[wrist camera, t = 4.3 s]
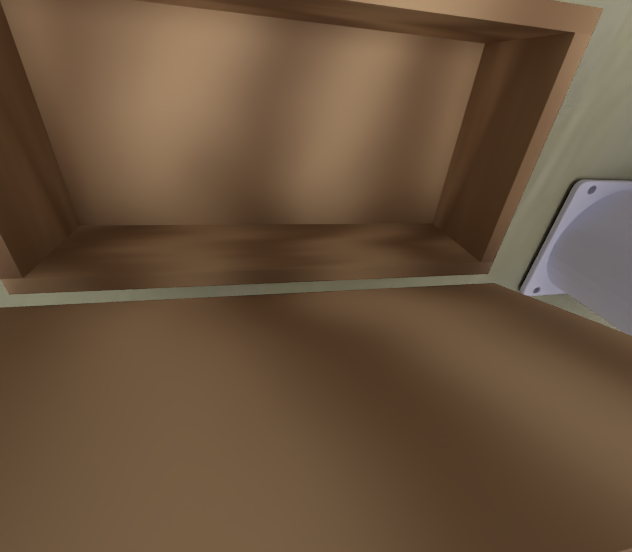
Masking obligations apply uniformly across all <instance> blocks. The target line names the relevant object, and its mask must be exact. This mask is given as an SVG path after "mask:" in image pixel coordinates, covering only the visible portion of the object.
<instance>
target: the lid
mask: <svg viewBox="0 0 632 552" xmlns="http://www.w3.org/2000/svg"><path fill="white" fill-rule="evenodd" d="M0 552H632V336H631V335H628V334H625V333H623V332H620V331H618V330H615V329H612V328H610V327H607V326H604V325H602V324H599V323H597V322H594V321H591V320H589V319H586V318H584V317H581V316H578V315H576V314H573V313H571V312H568V311H565V310H563V309H560V308H558V307H555V306H552V305H550V304H547V303H544V302H542V301H539V300H537V299H534V298H531V297H529V296H526V295H524V294H521V293H518V292H516V291H513V290H511V289H508V288H505V287H503V286H500V285H498V284H495V283H486V284H466V285H446V286H426V287H406V288H386V289H366V290H346V291H326V292H306V293H286V294H266V295H246V296H226V297H206V298H186V299H165V300H145V301H125V302H105V303H85V304H65V305H45V306H25V307H5V308H0Z"/></svg>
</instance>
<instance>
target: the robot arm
mask: <svg viewBox="0 0 632 552" xmlns="http://www.w3.org/2000/svg"><path fill="white" fill-rule="evenodd" d="M520 292H521V293H522V294H524V295H526V296H538V295H554V294H568V295H569V296H571V297H572V298H574V299H575V300H577V301H578V302H580V303H581V304H582V305H584V306H585V307H587V308H588V309H590V310H591V311H593V312H594V313H596V314H597V315H599V316H600V317H601V318H603V319H604V320H606V321H607V322H609V323H610V324H612V325H613V326H615V327H616V328H617V329H619V330H620V331H622V332H623V333H625V334H628V335H631V336H632V181H627V180H591V179H583V180H580V181H578V182H577V183H576V184H575V185H574V186H573V188H572V189H571V191H570V193H569V195H568V197H567V199H566V201H565V203H564V205H563V207H562V209H561V211H560V213H559V215H558V217H557V219H556V220H555V222H554V224H553V226H552V228H551V230H550V232H549V234H548V236H547V238H546V240H545V242H544V244H543V246H542V248H541V250H540V252H539V254H538V255H537V257H536V259H535V261H534V263H533V265H532V267H531V269H530V271H529V273H528V275H527V277H526V279H525V281H524V283H523V285H522V287H521V289H520Z"/></svg>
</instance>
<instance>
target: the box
mask: <svg viewBox="0 0 632 552" xmlns="http://www.w3.org/2000/svg"><path fill="white" fill-rule="evenodd" d="M602 10H603V8H597V7H590V6H584V5H578V4H572V3H566V2H560V1H554V0H0V278H1V280H2V282H3V284H4V286H5V287H6V289H7V291H8V293H9V294H32V293H55V292H78V291H102V290H125V289H148V288H171V287H195V286H218V285H241V284H264V283H288V282H311V281H334V280H357V279H381V278H404V277H427V276H450V275H474V274H488V273H489V271H490V268H491V266H492V264H493V261H494V259H495V257H496V255H497V252H498V250H499V248H500V245H501V243H502V241H503V238H504V236H505V234H506V232H507V229H508V227H509V225H510V222H511V220H512V218H513V215H514V213H515V211H516V208H517V206H518V204H519V202H520V199H521V197H522V195H523V192H524V190H525V188H526V185H527V183H528V181H529V179H530V176H531V174H532V172H533V169H534V167H535V165H536V162H537V160H538V158H539V156H540V153H541V151H542V149H543V146H544V144H545V142H546V139H547V137H548V135H549V132H550V130H551V128H552V126H553V123H554V121H555V119H556V116H557V114H558V112H559V109H560V107H561V105H562V103H563V100H564V98H565V96H566V93H567V91H568V89H569V86H570V84H571V82H572V80H573V77H574V75H575V73H576V70H577V68H578V66H579V63H580V61H581V59H582V56H583V54H584V52H585V50H586V47H587V45H588V43H589V40H590V38H591V36H592V33H593V31H594V29H595V27H596V24H597V22H598V20H599V17H600V15H601V13H602Z"/></svg>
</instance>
